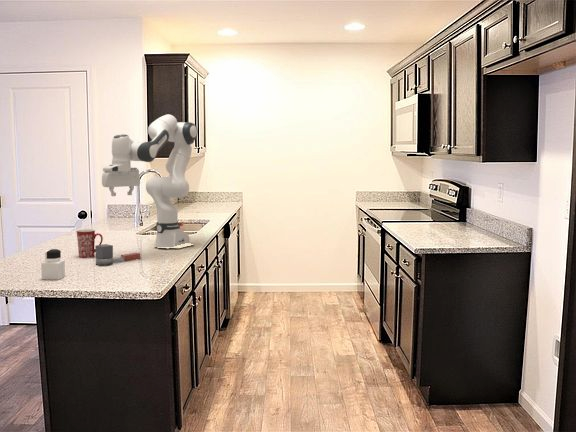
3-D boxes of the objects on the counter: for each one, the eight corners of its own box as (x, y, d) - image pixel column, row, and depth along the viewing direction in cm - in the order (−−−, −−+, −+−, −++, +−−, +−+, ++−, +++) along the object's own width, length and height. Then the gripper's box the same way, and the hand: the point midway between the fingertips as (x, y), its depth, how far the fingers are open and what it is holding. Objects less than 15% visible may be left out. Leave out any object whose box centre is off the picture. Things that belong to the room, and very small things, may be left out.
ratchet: (133, 257, 281) (133, 242, 280) (143, 259, 276) (143, 244, 275) (92, 264, 263) (92, 248, 262) (102, 266, 258) (101, 250, 257)
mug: (74, 258, 276) (73, 231, 274) (80, 254, 285) (79, 228, 283) (100, 258, 276) (99, 231, 275) (105, 255, 285) (104, 229, 284)
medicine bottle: (65, 276, 239) (64, 248, 237) (58, 279, 231) (58, 251, 230) (48, 275, 238) (47, 248, 237) (41, 279, 231) (40, 251, 230)
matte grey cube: (105, 256, 267) (105, 244, 266) (113, 258, 264) (112, 245, 263) (95, 258, 263) (95, 245, 262) (102, 259, 259) (102, 247, 258)
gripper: (134, 167, 285) (135, 194, 287) (99, 167, 269) (100, 196, 271) (142, 167, 282) (142, 195, 283) (107, 168, 265) (107, 197, 267)
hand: (121, 195), depth 277 cm, fingers open, 8 cm apart
